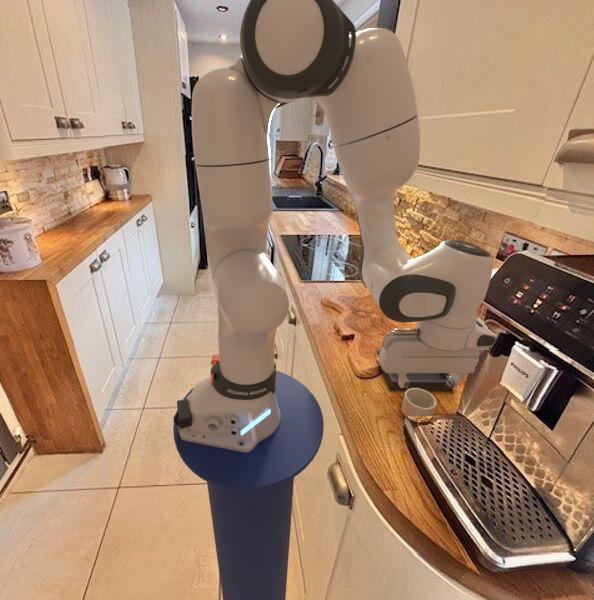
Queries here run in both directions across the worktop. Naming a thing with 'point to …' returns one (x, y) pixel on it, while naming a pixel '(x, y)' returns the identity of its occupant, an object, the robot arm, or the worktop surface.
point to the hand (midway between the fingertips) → (426, 385)
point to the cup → (418, 403)
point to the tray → (418, 380)
